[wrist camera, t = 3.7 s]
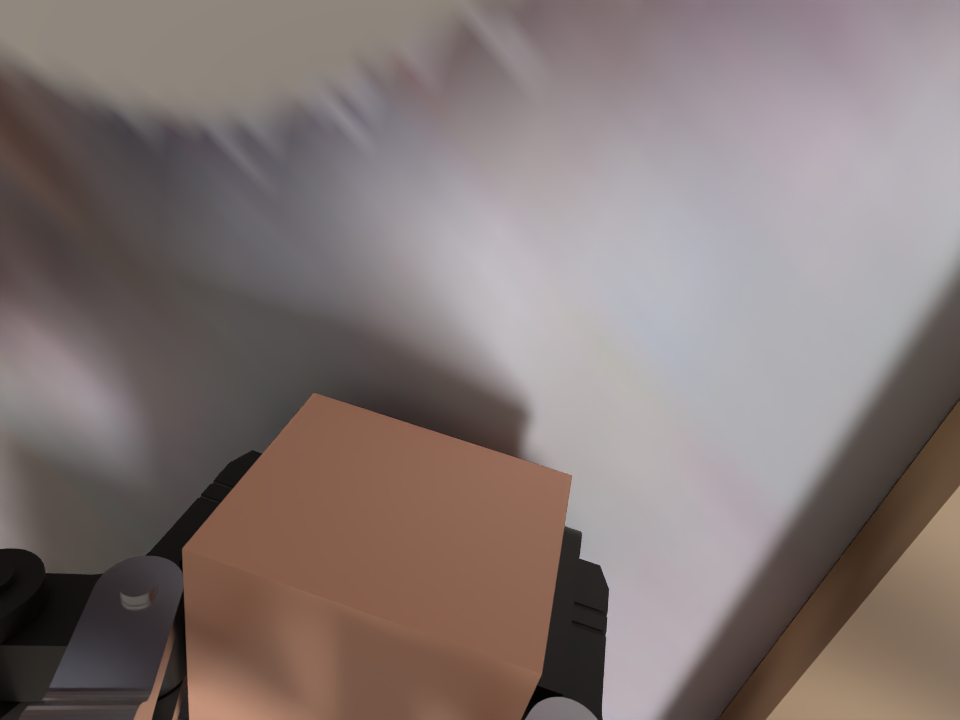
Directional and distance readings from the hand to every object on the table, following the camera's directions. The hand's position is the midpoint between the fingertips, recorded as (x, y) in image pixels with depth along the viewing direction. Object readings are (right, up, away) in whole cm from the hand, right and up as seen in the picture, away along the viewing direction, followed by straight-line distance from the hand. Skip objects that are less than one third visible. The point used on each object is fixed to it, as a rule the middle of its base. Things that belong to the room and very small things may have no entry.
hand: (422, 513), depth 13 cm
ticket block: (-1, -6, +3) cm, 7 cm away
